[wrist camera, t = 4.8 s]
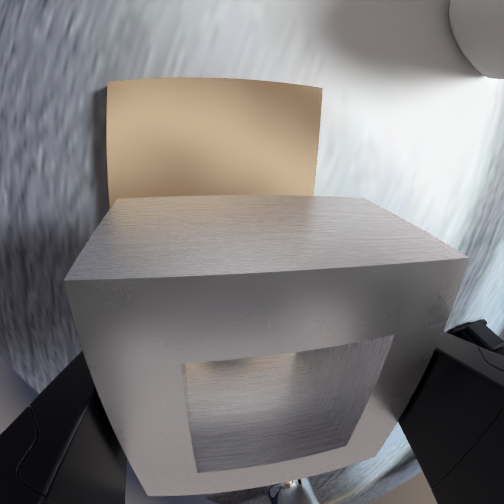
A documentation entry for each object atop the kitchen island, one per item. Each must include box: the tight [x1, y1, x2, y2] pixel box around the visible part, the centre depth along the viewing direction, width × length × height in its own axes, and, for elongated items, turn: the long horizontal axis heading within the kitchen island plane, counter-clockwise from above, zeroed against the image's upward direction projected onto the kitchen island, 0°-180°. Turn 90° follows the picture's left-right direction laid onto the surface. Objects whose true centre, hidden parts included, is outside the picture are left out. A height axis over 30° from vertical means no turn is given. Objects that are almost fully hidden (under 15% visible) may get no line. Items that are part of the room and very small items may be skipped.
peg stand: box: [107, 78, 322, 208], centre depth 14 cm, size 14×10×6 cm
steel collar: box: [64, 195, 469, 496], centre depth 7 cm, size 6×6×4 cm
